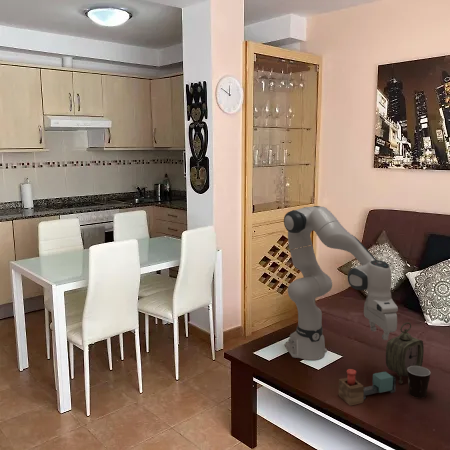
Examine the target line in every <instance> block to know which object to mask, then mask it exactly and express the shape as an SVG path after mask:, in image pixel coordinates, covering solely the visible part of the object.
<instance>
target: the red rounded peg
mask: <svg viewBox="0 0 450 450" xmlns="http://www.w3.org/2000/svg"><path fill="white" fill-rule="evenodd" d="M346 375H347V377H346V378H347V384H348V385H349V386H353V385H355V380H356V375H357V370H355V369H353V368H348V369H347V370H346Z"/></svg>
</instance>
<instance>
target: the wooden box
mask: <svg viewBox="0 0 450 450" xmlns="http://www.w3.org/2000/svg"><path fill="white" fill-rule="evenodd" d="M364 387H365V385H363V384H362V383H361V382H359V381H358V380H357V379H355V385H353V386H349V385H348V384H347V377H344V378H340V379H338V396H339V398H341V399H342V400H343V401H344V402H345V403H347V404H348V406H349V407H350V406H355V405H359V404H363V403H364V399H363V395H364Z"/></svg>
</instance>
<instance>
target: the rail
mask: <svg viewBox="0 0 450 450" xmlns="http://www.w3.org/2000/svg"><path fill="white" fill-rule="evenodd" d="M390 375H391V376H393V386H392V390H390V391H387V392H388V393H389V394H394V393H395V392H396V391H397V390H396V389H397V387H396V386H397V378H396V376H395V375H393V374H390ZM377 393H379V388H378V387H377V386H376V385H373V384H372V385H369V386H364V395H363V400H366V399H367V398H366V396H370V395H373V394H377Z"/></svg>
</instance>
